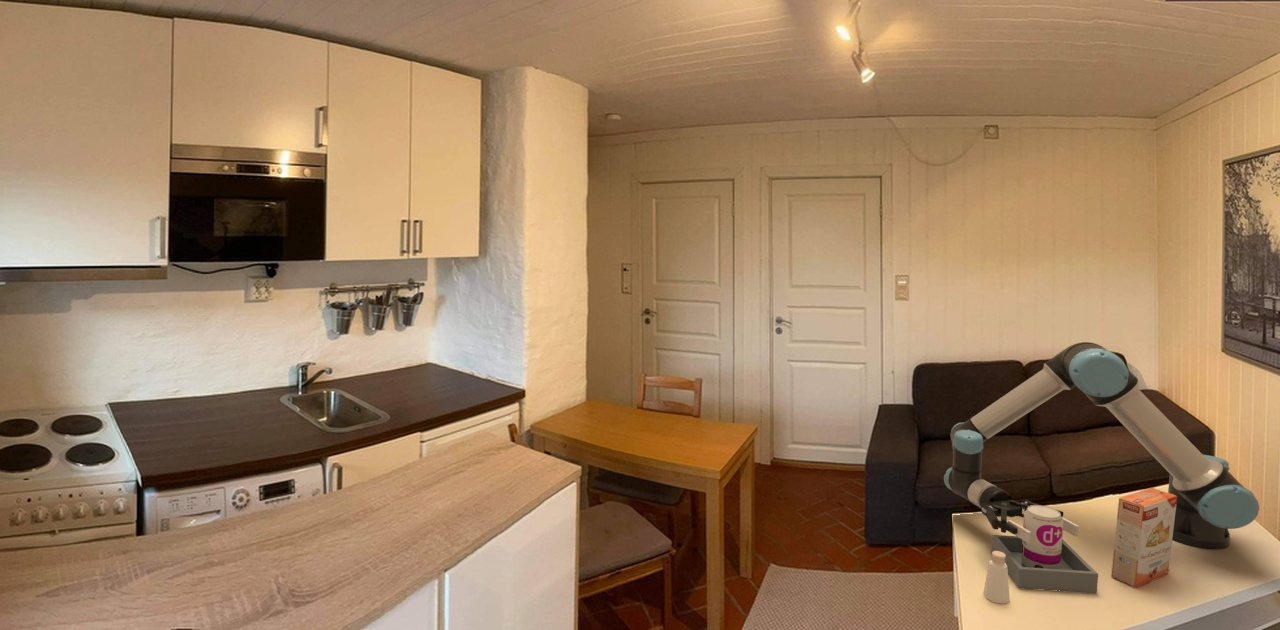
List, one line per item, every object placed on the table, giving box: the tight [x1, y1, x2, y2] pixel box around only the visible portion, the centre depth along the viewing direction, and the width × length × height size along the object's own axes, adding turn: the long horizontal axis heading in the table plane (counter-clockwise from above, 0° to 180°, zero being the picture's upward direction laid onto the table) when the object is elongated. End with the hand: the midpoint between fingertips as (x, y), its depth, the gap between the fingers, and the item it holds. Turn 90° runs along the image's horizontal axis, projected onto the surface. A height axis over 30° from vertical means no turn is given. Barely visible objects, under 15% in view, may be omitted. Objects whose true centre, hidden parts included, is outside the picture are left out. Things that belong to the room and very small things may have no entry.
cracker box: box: [1111, 487, 1177, 588], centre depth 151 cm, size 14×6×21 cm, turn 114°
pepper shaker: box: [983, 551, 1011, 605], centre depth 145 cm, size 5×5×11 cm
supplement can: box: [1021, 504, 1064, 569], centre depth 154 cm, size 8×8×15 cm
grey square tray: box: [990, 534, 1099, 595], centre depth 155 cm, size 17×17×5 cm
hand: (1053, 534), depth 151 cm, fingers open, 13 cm apart
